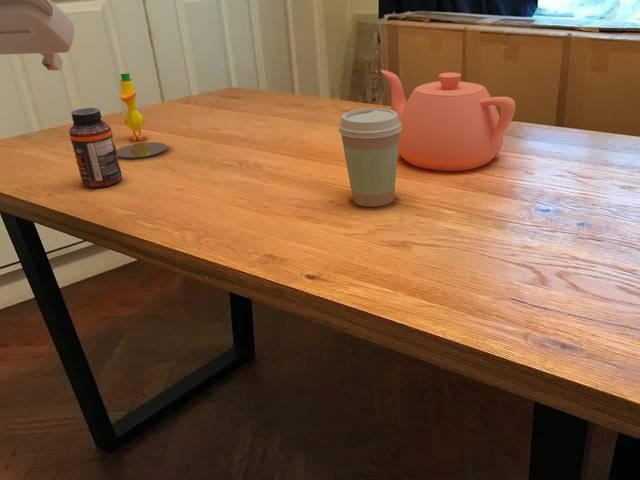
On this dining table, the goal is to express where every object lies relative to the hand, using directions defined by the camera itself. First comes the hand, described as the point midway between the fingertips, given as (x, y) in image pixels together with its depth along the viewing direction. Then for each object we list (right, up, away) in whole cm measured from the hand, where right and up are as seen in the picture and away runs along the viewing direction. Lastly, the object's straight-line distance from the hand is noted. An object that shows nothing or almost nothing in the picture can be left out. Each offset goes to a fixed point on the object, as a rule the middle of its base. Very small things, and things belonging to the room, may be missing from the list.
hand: (21, 66), depth 84 cm
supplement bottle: (+2, -12, +20) cm, 24 cm away
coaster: (+3, -4, +34) cm, 35 cm away
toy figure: (-1, 0, +42) cm, 42 cm away
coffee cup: (+45, -16, +10) cm, 48 cm away
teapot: (+56, -6, +26) cm, 62 cm away
